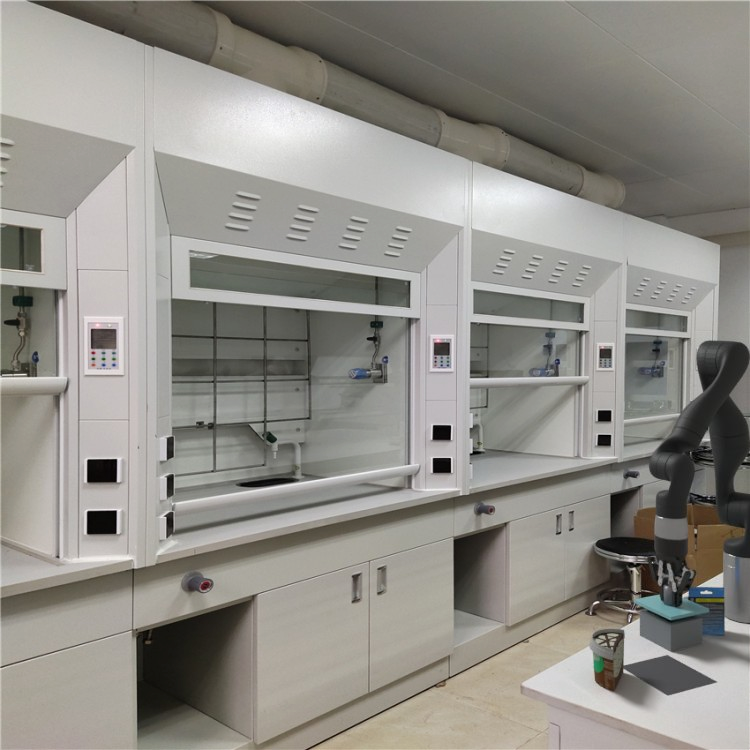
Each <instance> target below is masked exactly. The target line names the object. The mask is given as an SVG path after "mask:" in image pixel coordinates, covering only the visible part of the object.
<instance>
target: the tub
mask: <svg viewBox="0 0 750 750" xmlns="http://www.w3.org/2000/svg"><path fill="white" fill-rule="evenodd" d="M702 622H703V618H701V617H699V616H697V615H693V616H689V617H684V618H680V619H675V620H669V619H667V618H665V617H663V616H661V615H659V614H656V613H654V612H652V611H650V610H648V609H646V608H643V609H639V636H640V637H642V638H644V639H646V640H648V641H650V642H652V643H653V644H655V645H657V646H659V647H661V648H663V649H664V650H667V651H669V652H670V653H671V652H675V651H680V650H685V649H689V648H693V647H697V646H701V645H703V635H702Z"/></svg>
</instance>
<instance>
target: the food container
mask: <svg viewBox="0 0 750 750" xmlns="http://www.w3.org/2000/svg"><path fill="white" fill-rule="evenodd" d="M625 635H626V634H625V629H622V628H621V629H620V628H602V629H599V630H596V631H595V632H593V633H592V634H591V637H590V640H589V645H588V646H589V650H591V651H592V660H593V661H592V663H593V673H594V675H593V676H594V681H595V683H596V684H597V685H598V686H600V687H601V688H603V689H605V690H607V691H611V692H615V690H616V688H617V686H618V683H619V682H620V679H621V678H622V676H623V674H624V669H623V668H624V665H625V664H624V661H625V660H624V659H625Z"/></svg>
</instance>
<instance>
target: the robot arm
mask: <svg viewBox="0 0 750 750" xmlns="http://www.w3.org/2000/svg"><path fill="white" fill-rule="evenodd" d="M695 358H696V359H695V360H696V368H697V373H698V378H699V381H700V384H701V389H702V392H701V393H700V394H699V395H698V396H696V397H695V398H694V399H693V400H692V401H690V402H689V403H688V404H687V405H685V407H684V408H683V409H682V411H681V412H680V414H679V415H678V418H677V420H676V422H675V423H674V426H673V428H672V430H671V432H670V433H669V434H668V435H667V436H666V437H665V439H664V440H663V441H662V442H661V443H660V444H659V446H658V447H656V449H655V450H654V451H653V453H652V454H651V456H650V458H649V462H648V468H649V473H650V475H651V476H652V477H654V478H655V479H657V480H662V481H665V482H666V481H667V482H669V483H670V485H669V487H668V489H663V490H659V491H658V492H657V493H656V496H655V518H654V536H653V537H654V538H653V539H654V545H653V546H654V551H655V553H656V554H655V555H650V556H647V558H646V561H647V564H648V566H649V567H648V568H649V570H650V574H651V577H652V580H653V581H654V582H657V584H658V586H659V595H660V598H661V601H663V602H664V584H670V583H671V584H672V588H673V591H672V605H673V606H674V607H678V606H681V604H682V597H683V593H684V592H687V591H688V592H689V590H690V588H691V587H692V585H693V583H694V580H695V578H696V576H697V570H695V569H690V568H689V567H688V564H687V560H686V557H687V556H688V553H689V524H688V498H689V495H690V493H691V489H692V485H693V482H694V479H695V475H696V474H695V473H696V468H695V465H694V464H695V463H694V462H693V460H692V459H691V457H689V456H688V455H687V454H683V453H685V452H690V451H696V450H697V449H698V448H699V447H700V445H701V443H702V441H703V439H704V437H705V434H706V433H707V430H708V434H709V440H710V442H709V443H710V447H711V452H712V453H711V454H712V459H713V460H712V461H713V469H714V480H715V485H714V486H715V507H716V508H715V509H716V514H717V518H718V520H719V522H720V523H721V524H723V525H725V526H729V527H734V528H739V529H744V534H743V535H742V536H738V537H737V536H736V537H729V538H726V539H725V540H724V541H723V546H722V547H723V550H722V551H723V552H722V553H723V554H722V556H723V557H722V559H723V561H722V564H723V566H722V570H723V571H722V572H723V573H722V587H724V588H725V589H724V599H725V618H726V619H729V620H731V621H733V622H734V621H735V622H739V623H743V624H744V623H745V624H750V493H745V492H739V491H736V490H735V485H734V482H735V481H734V480H735V476H736V474H737V472H738V470H739V468H740V467H741V466H742V464H743V463H744V461H745V460H746V458H747V456H748V455H749V453H750V429H749V425H748V421H747V419H746V417H745V416H744V414H743V413H742V411H741V410H740V408H739V407H738V406H737V404H736V403H735V402H734V400H733V399H732V397H731V396H730V394H731V393H732V392H733V390H734V389H735V388H736V386H737V385H738V383H740V381H741V380H742V377H744V375H745V373H746V371H747V369H748V367H749V364H750V350H749V348H748V345H747V344H745V343H743V342H741V341H732V340H710V339H709V340H704V341H703V342H701V344H699V345H698V348H697V352H696V357H695Z"/></svg>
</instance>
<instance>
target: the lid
mask: <svg viewBox="0 0 750 750" xmlns="http://www.w3.org/2000/svg"><path fill="white" fill-rule="evenodd" d="M672 591H673V588H672V583H669V584H664V602H663V601H661V598H660V594H654V595H650V596H645V597H641V598H639V597H638V598H636V599H633V603H634V604H636V605H638V606H640V607H642V608H643V609H648V610H650V611H652V612H654V613H656V614H659V615H661V616H663V617H665V618H667V619H669V620H675V619H680V618H684V617H689V616H693V615H698V614H703V613H707V612H709V609H708V608H706V607H704V606H701V605H699V604H697V603H694V602H692V601H690V600H687V599H685V598H684V596H682V604H681V606H678V607H674V606H673V605H672Z"/></svg>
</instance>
